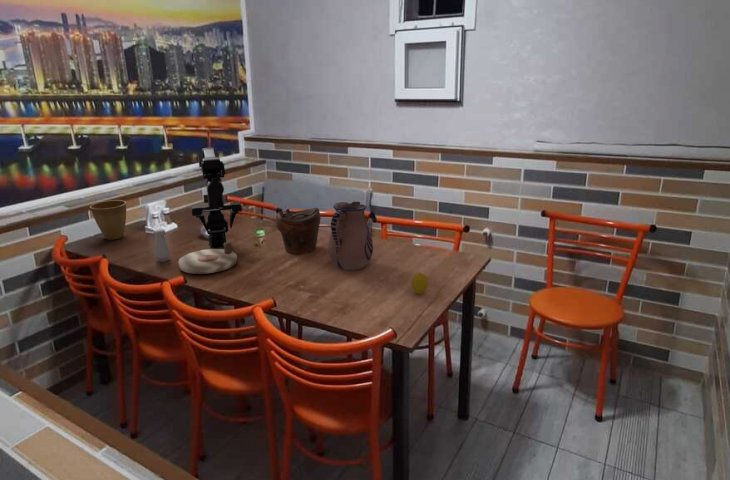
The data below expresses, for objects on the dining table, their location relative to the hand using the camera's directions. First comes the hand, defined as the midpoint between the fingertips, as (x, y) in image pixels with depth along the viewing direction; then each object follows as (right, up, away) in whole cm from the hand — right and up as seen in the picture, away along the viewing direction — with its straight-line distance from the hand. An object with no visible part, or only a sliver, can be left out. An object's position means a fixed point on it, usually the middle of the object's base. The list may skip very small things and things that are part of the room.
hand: (218, 229), depth 198 cm
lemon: (+77, -23, -27) cm, 84 cm away
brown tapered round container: (+30, -8, +17) cm, 36 cm away
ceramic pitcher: (+52, -15, -3) cm, 54 cm away
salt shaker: (-25, -13, +6) cm, 28 cm away
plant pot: (-59, -3, +35) cm, 69 cm away
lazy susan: (-4, -13, 0) cm, 14 cm away
